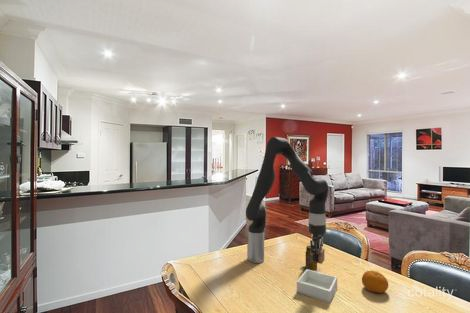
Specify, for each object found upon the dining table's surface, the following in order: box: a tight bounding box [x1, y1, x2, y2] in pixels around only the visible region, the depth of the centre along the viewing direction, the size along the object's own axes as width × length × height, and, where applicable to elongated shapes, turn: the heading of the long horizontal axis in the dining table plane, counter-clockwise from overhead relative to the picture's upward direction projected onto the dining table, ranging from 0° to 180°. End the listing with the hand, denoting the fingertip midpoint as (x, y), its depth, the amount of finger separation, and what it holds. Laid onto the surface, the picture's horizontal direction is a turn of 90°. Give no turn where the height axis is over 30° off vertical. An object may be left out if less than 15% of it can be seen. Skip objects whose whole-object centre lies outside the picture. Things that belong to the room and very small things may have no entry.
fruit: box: [361, 270, 389, 294], centre depth 111 cm, size 10×10×8 cm
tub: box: [296, 269, 338, 304], centre depth 111 cm, size 14×14×5 cm
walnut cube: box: [310, 248, 325, 265], centre depth 111 cm, size 5×5×5 cm
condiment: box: [299, 245, 321, 272], centre depth 132 cm, size 7×8×12 cm
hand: (317, 259), depth 111 cm, fingers closed on walnut cube, 5 cm apart
